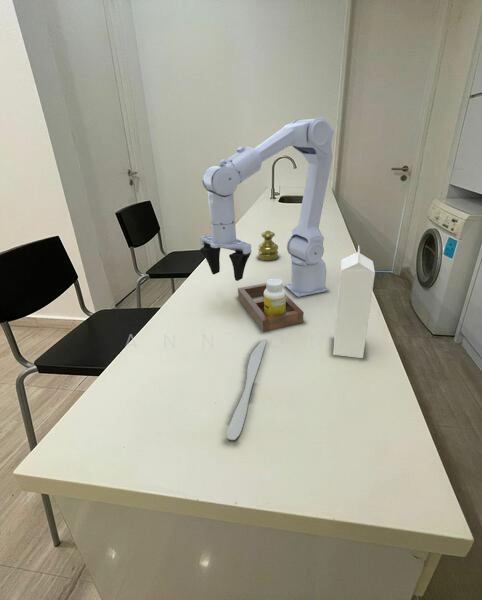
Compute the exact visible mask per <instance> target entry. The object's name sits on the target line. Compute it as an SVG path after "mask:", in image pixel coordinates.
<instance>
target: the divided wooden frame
mask: <svg viewBox="0 0 482 600" xmlns="http://www.w3.org/2000/svg"><path fill="white" fill-rule="evenodd" d="M265 289H266V282H264V283H259V284H253V285H249V286H243V287H238V288H237V298H238V299H239V301H240V302H241V303H242V305H243V307H244V308H245V309H246V310H247V312H248V313H249V314H250V316H251V317H252V319H253V320H254V321H255V323H256V324H257V325H258V327H259V328H260V330H261V331H262V332H267V331H268V332H269V331H273V330H277V329H281V328H282V329H283V328H285V327H290V326H294V325H299V324H303V323H304V311H303V310H302V309H301V308H300V307H299V306H298V305H297V304H296V303H295V302H294V301H293V300H292V299H291V298H289V296H287V295H286V313H282V314H277V315H272V316H268V317H266V316H265V314H264V298H261V299H255V300H254V299H253V298H257V297H262V296H264V291H265Z"/></svg>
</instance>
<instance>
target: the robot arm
mask: <svg viewBox="0 0 482 600" xmlns="http://www.w3.org/2000/svg"><path fill="white" fill-rule="evenodd" d="M333 136H334V130H333V128H332V126H331V125H330V123H329V121H328V120H327V119H326V118H324V117H316V118H309V119H294V120H292V122H289V123H287V124H285V125H284V126H283V127H282V128H281V129H279V130H277V131H276V132H275V133H274V134H272V135H270V137H268V138H267V139H265V140H264V141H263V142H261V143H259V144H258V145H257V146H255V147H254V148H253V147H251V146H240V147H238V148H237V149H236V153H234V154H232V155H231V156H229V157H228V158H227V159H225V158H222V159H221V160H219V166H218V165H213V166H210V167H208V168H207V169H206V171H205V173H204V174H203V179H202V180H201V184H202V186H203V188H204V189H205V190H206V192H207V200H208V201H207V202H208V213H209V222H210V223H209V224H210V232H211V235H206V234H205V235H202V236H199V242H200V245H201V246H203V247H201V248H200V250H199V251H200V253H201V254H202V256H203V257H204V259H205V260H206V262H207V264H208V267H209V269H210V272H211V274H212V275H217V274H218V273H220V272H221V262H220V258H221V257H220V255H221V250H222V249H225V250H229V251H233V252H232V253H230V254H229V255H228V257H229V259H230V261H231V265H232V269H233V277H234V280H235V281H236V282H239V281H240V280H242V279H243V278H244V272H245V269H246V265H247V262H248V260H249V258H250V256H251V255H252V244H251V243H248V242H245V241H243V240H241V239H239V238H237V231H236V230H237V228H236V216H235V214H236V213H235V200H234V193H235V192H236V190H237V188H238V185H240V184H242V183H243V182H244V181H246V180H247V179H249V178H251V177H252V176H253V175H255V174H256V173H258V172H259V171H260V170H261V168H262V165H263V162H265V161H267V160H268V159H270V158H272V157H273V156H275V155H277V154H278V153H280V152H282V151H283V150H285V149H287V148H289V147H292V148H293V149H294V150H296V151H298V152H299V153H300V154H301V155H303V157H304V158H305V160H306V161H307V163H308V167H307V172H306V179H305V184H304V189H303V196H302V200H301V207H300V213H299V219H298V224H297V226H296V227H294V228H293V229H292V230H291V234H290V237H289V238H288V240H287V243H286V252H287V253H288V254H289V255H290V260H291V274H290V275H291V277H290V279H291V280H290V281H291V282H290V283H289V284H286V285H285V288H287V289H288V290H289V291H290V292H291V293H292V294H294V295H295V296H296V297H298V298H299V297H305V296H309V295H315V294H320V293H323V292H327V288H326V281H327V280H326V279H327V266H326V262H325V261H324V259H322V258H323V256H324V253H325V247H324V241H325V237H324V235H323V233H322V231H321V230H320V222H321V218H322V213H323V208H324V203H325V196H326V191H327V188H328V183H329V182H328V181H329V177H330V171H331V166H332V161H333V150H332V142H333V138H334V137H333Z"/></svg>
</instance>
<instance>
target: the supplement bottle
mask: <svg viewBox="0 0 482 600" xmlns="http://www.w3.org/2000/svg"><path fill="white" fill-rule="evenodd" d="M265 283H266V289H265V291H264V295H263V299H264V312H263V313H264V314H265V316H266V317H268V316H272V315H277V314H282V313H286V296H287V292H286V290H285V289H284V282H283V280H282V279H281V278H269V279H267V280H266V282H265Z"/></svg>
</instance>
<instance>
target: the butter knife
mask: <svg viewBox="0 0 482 600" xmlns="http://www.w3.org/2000/svg"><path fill="white" fill-rule="evenodd" d="M266 344H267V341H266V340H261V341H260V342H259V344H257V346H256V347H255V348H254V350H253V351H252V353H251V354H250V356H249V361H248V365H247V367H246V368H247V372H246V379H245V386H244V390H243V393H242V396H241V398H240V401H239V403H238V405H237V407H236V408H235V411H234V413H233V415H232V418H231V419H230V422H229V425H228V428H227V432H226V438H227V440H229V441H236V439H237V438H238V437H239V436H240V435H241V432H242V429H243V426H244V423H245V419H246V416H247V412H248V407H249V401H250V395H251V391H252V388H253V384H254V381H255V379H256V376H257V373H258V370H259V367H260V365H261V364H260V363H261V361H262V358H263V357H262V356H263V354H264V350H265V347H266Z"/></svg>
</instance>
